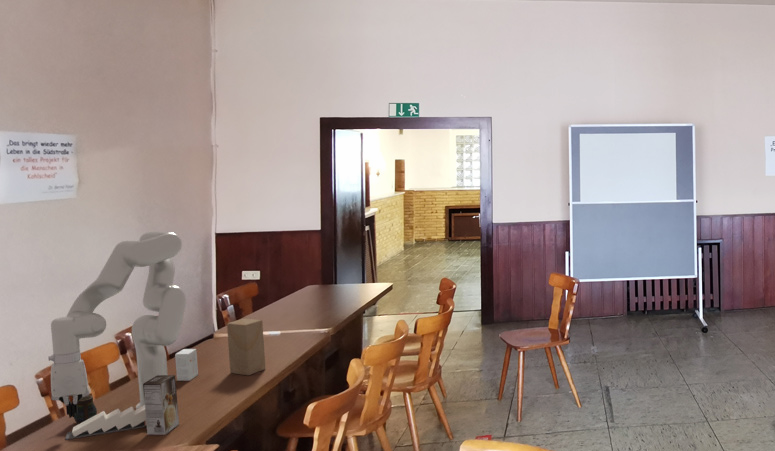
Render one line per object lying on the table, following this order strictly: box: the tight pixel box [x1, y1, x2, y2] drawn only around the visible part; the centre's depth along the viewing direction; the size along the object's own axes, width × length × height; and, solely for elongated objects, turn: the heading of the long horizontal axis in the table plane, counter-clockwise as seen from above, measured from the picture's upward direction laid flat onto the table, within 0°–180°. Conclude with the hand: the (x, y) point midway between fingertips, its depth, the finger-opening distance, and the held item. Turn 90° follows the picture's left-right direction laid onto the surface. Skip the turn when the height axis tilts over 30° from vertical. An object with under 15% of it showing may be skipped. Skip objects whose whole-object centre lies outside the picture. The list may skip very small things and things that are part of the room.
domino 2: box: [87, 408, 122, 434], centre depth 225 cm, size 5×2×10 cm
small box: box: [174, 348, 199, 382], centre depth 281 cm, size 8×6×10 cm
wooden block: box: [226, 318, 267, 376], centre depth 285 cm, size 10×10×20 cm
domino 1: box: [71, 410, 107, 437], centre depth 224 cm, size 5×2×10 cm
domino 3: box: [102, 406, 135, 432], centre depth 227 cm, size 5×2×10 cm
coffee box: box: [143, 374, 180, 436], centre depth 223 cm, size 9×6×16 cm
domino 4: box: [116, 405, 146, 430], centre depth 228 cm, size 5×2×10 cm
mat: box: [65, 421, 146, 441], centre depth 226 cm, size 6×23×1 cm, turn 110°
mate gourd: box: [71, 395, 98, 424], centre depth 234 cm, size 7×8×10 cm
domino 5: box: [130, 415, 146, 428], centre depth 229 cm, size 5×2×10 cm
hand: (72, 416), depth 222 cm, fingers closed
